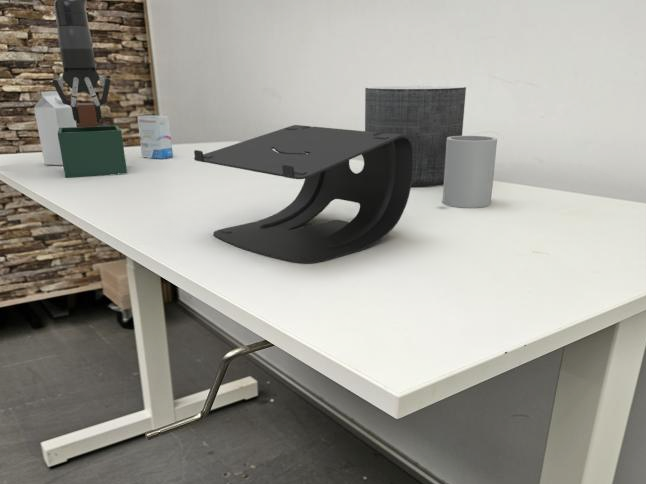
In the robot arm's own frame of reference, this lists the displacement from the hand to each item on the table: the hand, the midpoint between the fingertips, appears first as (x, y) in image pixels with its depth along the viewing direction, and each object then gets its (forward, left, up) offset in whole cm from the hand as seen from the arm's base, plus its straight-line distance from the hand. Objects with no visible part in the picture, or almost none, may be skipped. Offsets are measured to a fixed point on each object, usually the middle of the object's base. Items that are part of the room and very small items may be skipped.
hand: (88, 121), depth 152 cm
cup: (+66, -71, -12) cm, 98 cm away
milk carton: (-8, +18, -12) cm, 23 cm away
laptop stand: (+29, -82, -12) cm, 88 cm away
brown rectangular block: (0, 0, -1) cm, 1 cm away
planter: (+69, -43, -12) cm, 82 cm away
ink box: (+18, +20, -12) cm, 30 cm away
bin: (0, 0, -12) cm, 12 cm away
